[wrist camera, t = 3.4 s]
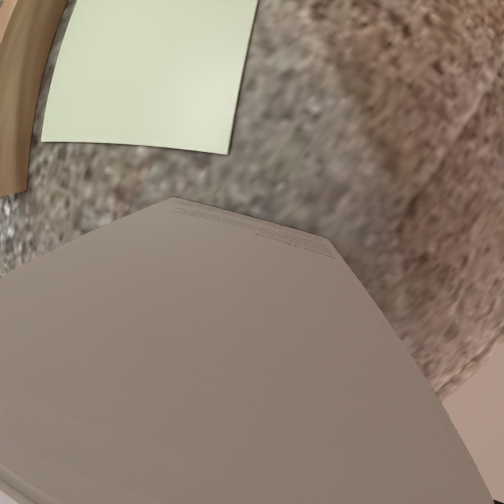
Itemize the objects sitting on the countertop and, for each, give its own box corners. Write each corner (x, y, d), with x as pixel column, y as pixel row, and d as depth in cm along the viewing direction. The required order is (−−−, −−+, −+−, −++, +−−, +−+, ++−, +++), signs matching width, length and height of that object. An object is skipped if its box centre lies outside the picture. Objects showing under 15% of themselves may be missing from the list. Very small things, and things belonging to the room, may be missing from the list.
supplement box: (169, 191, 13) (-134, 330, 1) (332, 237, 13) (525, 514, 1) (146, 331, 15) (21, 539, 3) (281, 369, 15) (288, 612, 3)
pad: (265, -30, 10) (265, -34, 9) (227, 154, 12) (226, 154, 12) (89, -18, 9) (86, -21, 9) (45, 141, 12) (40, 141, 12)
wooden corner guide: (331, -53, 9) (344, -97, 5) (286, 229, 13) (295, 257, 9) (72, -41, 9) (41, -66, 5) (11, 189, 13) (-38, 199, 9)
